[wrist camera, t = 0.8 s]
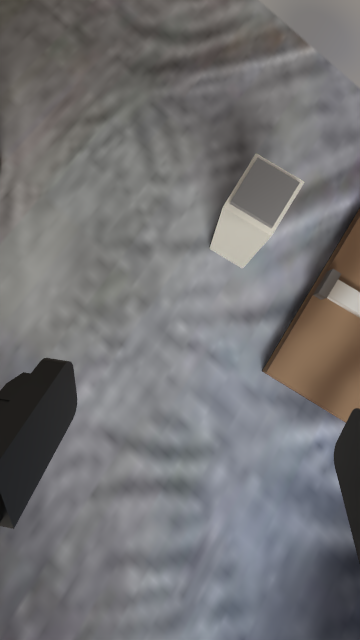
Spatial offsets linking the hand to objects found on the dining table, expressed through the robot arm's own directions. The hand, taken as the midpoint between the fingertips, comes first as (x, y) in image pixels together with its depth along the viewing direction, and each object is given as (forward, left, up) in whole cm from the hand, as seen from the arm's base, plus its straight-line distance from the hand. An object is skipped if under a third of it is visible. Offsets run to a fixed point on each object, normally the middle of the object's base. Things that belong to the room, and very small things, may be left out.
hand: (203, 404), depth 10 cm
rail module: (-2, +12, -21) cm, 24 cm away
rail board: (+12, +12, -21) cm, 27 cm away
